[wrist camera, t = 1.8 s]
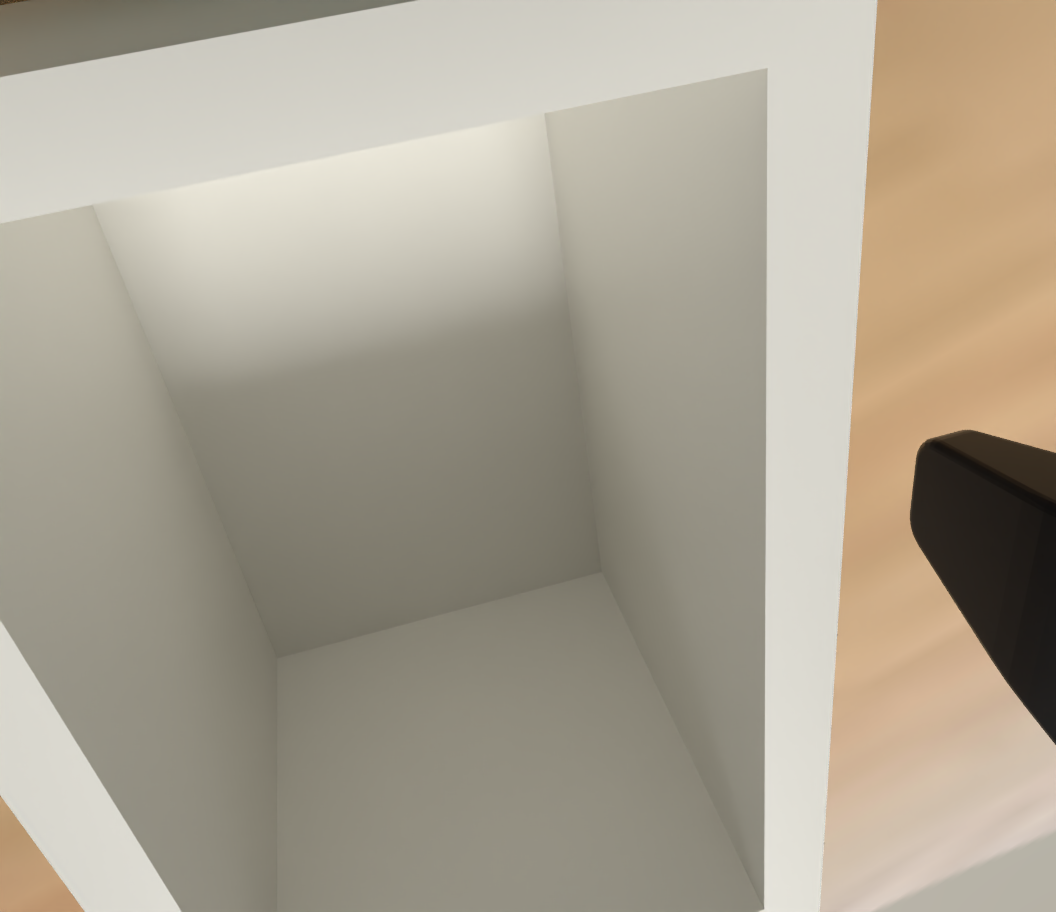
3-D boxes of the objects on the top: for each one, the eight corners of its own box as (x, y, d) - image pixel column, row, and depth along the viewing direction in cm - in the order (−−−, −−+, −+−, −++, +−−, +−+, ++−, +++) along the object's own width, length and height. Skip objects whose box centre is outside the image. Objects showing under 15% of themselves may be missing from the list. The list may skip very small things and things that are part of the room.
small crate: (630, 568, 14) (819, 924, 9) (248, 669, 14) (232, 1114, 9) (562, -94, 9) (882, -88, 4) (-39, 10, 9) (-460, 160, 4)
